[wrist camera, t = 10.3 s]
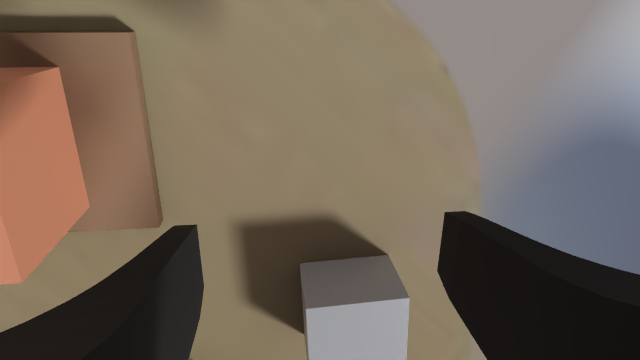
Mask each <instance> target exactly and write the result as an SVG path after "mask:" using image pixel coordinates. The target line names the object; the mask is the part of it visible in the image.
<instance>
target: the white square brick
mask: <svg viewBox="0 0 640 360" xmlns="http://www.w3.org/2000/svg"><path fill="white" fill-rule="evenodd" d="M300 274H301V290H302V306H303V321H304V336H305V344H306V353H307V360H406V356H407V337H408V318H409V299H410V298H409V296H408V294H407V292H406V290H405V288H404V286H403V284H402V282H401V280H400V278H399V276H398V274H397V272H396V270H395V268H394V265H393V263H392V261H391V259H390V257H389V255H380V256H370V257H360V258H350V259H339V260H329V261H319V262H309V263H300Z"/></svg>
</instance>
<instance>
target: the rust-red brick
mask: <svg viewBox="0 0 640 360" xmlns="http://www.w3.org/2000/svg"><path fill="white" fill-rule="evenodd" d="M89 207H90V206H89V201H88V197H87V192H86V188H85V183H84V179H83V174H82V170H81V165H80V161H79V156H78V152H77V147H76V143H75V138H74V134H73V129H72V125H71V120H70V116H69V111H68V106H67V102H66V97H65V93H64V88H63V84H62V79H61V75H60V70H59V67H4V68H0V284H14V283H23V281H24V280H25V279H26V278H27V277H28V276H29V275H30V274H31V272H32V271H33V270H34V269H35V268H36V267H37V266H38V265H39V263H40V262H41V261H42V260H43V259H44V258H45V257H46V256H47V254H48V253H49V252H50V251H51V250H52V249H53V248H54V247H55V245H56V244H57V243H58V242H59V241H60V240H61V239H62V238H63V236H64V235H65V234H66V233H67V232H68V231H69V230H70V229H71V227H72V226H73V225H74V224H75V223H76V222H77V221H78V220H79V218H80V217H81V216H82V215H83V214H84V213H85V212H86V211H87V209H88V208H89Z"/></svg>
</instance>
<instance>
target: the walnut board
mask: <svg viewBox="0 0 640 360" xmlns="http://www.w3.org/2000/svg"><path fill="white" fill-rule="evenodd" d="M4 67H59V70H60V75H61V79H62V84H63V88H64V93H65V97H66V102H67V106H68V111H69V116H70V120H71V125H72V129H73V134H74V138H75V143H76V147H77V152H78V156H79V161H80V165H81V170H82V174H83V179H84V183H85V188H86V192H87V197H88V201H89V206H90V207H89V208H88V209H87V211H86V212H85V213H84V214H83V215H82V216H81V217H80V218H79V220H78V221H77V222H76V223H75V224H74V225H73V226H72V227H71V229H70V230H69V231H68V232H78V231H98V230H118V229H138V228H158V227H160V225H161V223H162V221H163V217H162V210H161V204H160V197H159V190H158V184H157V177H156V170H155V164H154V157H153V150H152V144H151V137H150V130H149V124H148V117H147V110H146V104H145V97H144V90H143V84H142V77H141V70H140V64H139V57H138V50H137V44H136V37H135V32H0V68H4Z"/></svg>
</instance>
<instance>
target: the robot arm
mask: <svg viewBox="0 0 640 360" xmlns="http://www.w3.org/2000/svg"><path fill="white" fill-rule="evenodd" d="M437 271H438V274H439V276H440V278H441V281H442V283H443V286H444V288H445V290H446V292H447V295H448V297H449V299H450V301H451V302H452V304H453V306H454V307H455V309H456V311H457V312H458V314H459V315H460V317H461V319H462V320H463V322H464V323H465V325H466V327H467V328H468V330H469V331H470V333H471V335H472V336H473V338H474V339H475V341H476V342H477V344H478V345H479V347H480V349H481V350H482V352H483V354H484V355H485V357H486V358H487V360H640V275H639V274H634V273H630V272H626V271H622V270H619V269H615V268H612V267H608V266H605V265H601V264H598V263H595V262H592V261H589V260H585V259H583V258H579V257H576V256H573V255H571V254H568V253H565V252H562V251H560V250H557V249H555V248H552V247H550V246H547V245H545V244H542V243H540V242H537V241H535V240H532V239H530V238H528V237H525V236H523V235H520V234H519V233H516V232H514V231H512V230H510V229H507V228H505V227H502V226H501V225H498V224H496V223H494V222H492V221H489V220H487V219H485V218H482V217H480V216H477V215H475V214H472V213H469V212H466V211H459V212H445V215H444V223H443V231H442V239H441V246H440V254H439V262H438V270H437ZM203 289H204V283H203V274H202V266H201V257H200V249H199V240H198V232H197V225H181V226H173V227H172V228H170V229H169V230H168V231H166V232H165V233H164V234H163V235H161V236H160V237H159V238H158V239H157V240H155V241H154V242H153V243H152V244H151V245H149V246H148V247H147V248H146V249H144V250H143V251H142V252H141V253H139V254H138V255H137V256H136V257H134V258H133V259H132V260H130V261H129V262H128V263H126V264H125V265H123V266H122V267H121V268H119V269H118V270H116V271H115V272H114V273H112V274H111V275H109V276H108V277H107V278H105V279H104V280H102V281H101V282H99V283H98V284H96V285H94V286H93V287H91V288H90V289H88V290H86V291H84V292H83V293H81V294H79V295H78V296H76V297H74V298H72V299H71V300H69V301H67V302H65V303H63V304H61V305H59V306H57V307H55V308H53V309H51V310H49V311H47V312H45V313H43V314H41V315H39V316H37V317H35V318H33V319H31V320H29V321H26V322H24V323H22V324H20V325H17V326H15V327H13V328H10V329H8V330H6V331H3V332H1V333H0V360H188V359H189V356H190V352H191V348H192V345H193V341H194V337H195V334H196V330H197V326H198V322H199V319H200V313H201V306H202V298H203Z"/></svg>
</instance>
